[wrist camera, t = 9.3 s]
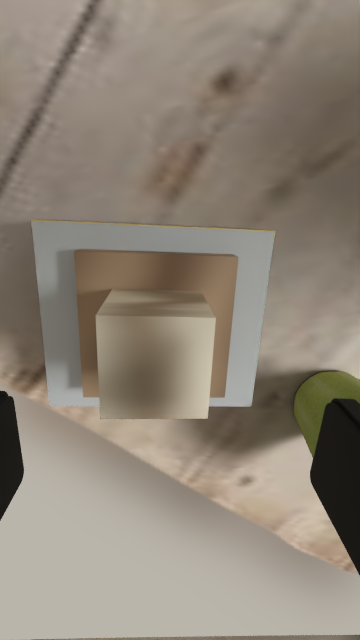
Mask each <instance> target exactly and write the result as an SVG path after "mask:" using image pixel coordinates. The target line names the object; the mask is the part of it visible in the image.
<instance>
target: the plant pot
mask: <svg viewBox="0 0 360 640" xmlns="http://www.w3.org/2000/svg"><path fill="white" fill-rule="evenodd" d="M334 398H346V399H355V400H356V401H357V402H358V403H359V404H360V380H359V379H357V378H355V377H354V376H352V375H350V374H348V373H346V372H343V371H336V372H321V373H318V374H316V375H314V376H312V377H310V378H309V379H307V380H306V381H305V382H304V383H303V384H302V385H301V386H300V388H299V389H298V391H297V393H296V395H295V401H294V411H293V412H294V415H295V418H296V420H297V422H298V425H299V427H300V429H301V431H302V434H303V436H304V438H305V440H306V443H307V445H308V447H309V450H310V452H311V454H312V457H313V458H314V454H315V449H316V445H317V440H318V436H319V432H320V427H321V423H322V419H323V414H324V410H325V406H326V404H327V403H331V401H332V399H334Z"/></svg>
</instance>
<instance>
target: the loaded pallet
mask: <svg viewBox="0 0 360 640" xmlns="http://www.w3.org/2000/svg"><path fill="white" fill-rule="evenodd" d="M238 258H239V257H238V256H236V255H234V254H213V253H185V252H157V251H128V250H100V249H78V250H76V251H74V260H75V276H76V292H77V308H78V324H79V340H80V356H81V372H82V387H83V397H99V405H100V419H208V410H209V398H225V390H226V380H227V370H228V359H229V349H230V339H231V329H232V319H233V309H234V299H235V288H236V278H237V268H238Z"/></svg>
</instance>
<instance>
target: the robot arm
mask: <svg viewBox="0 0 360 640" xmlns="http://www.w3.org/2000/svg"><path fill="white" fill-rule="evenodd" d="M23 474H24V467H23V460H22V453H21V447H20V440H19V433H18V426H17V419H16V412H15V405H14V400H13V398H12V397H11V396H8V394H7V393H6V392H5V391H0V520H1V518H2V516H3V515H4V513H5V511H6V509H7V507H8V505H9V504H10V502H11V500H12V498H13V496H14V494H15V493H16V491H17V489H18V487H19V485H20V483H21V481H22V478H23ZM310 478H311V483H312V485H313V487H314V489H315V491H316V493H317V495H318V497H319V499H320V501H321V503H322V505H323V506H324V508H325V510H326V512H327V514H328V516H329V518H330V520H331V522H332V524H333V525H334V527H335V529H336V531H337V533H338V535H339V537H340V539H341V541H342V543H343V544H344V546H345V548H346V550H347V552H348V554H349V556H350V558H351V560H352V561H353V563H354V565H355V567H356V569H357V571H358V573H359V575H360V404H359V403H358V402H357V401H356V400H355V399H346V398H334V399H332V401H331V403H327V404H326V406H325V410H324V414H323V419H322V423H321V427H320V432H319V436H318V440H317V445H316V449H315V454H314V458H313V462H312V467H311V471H310ZM34 640H360V635H295V636H294V635H292V636H291V635H289V636H213V637H212V636H209V637H208V636H207V637H143V638H142V637H138V638H85V639H83V638H81V639H34Z"/></svg>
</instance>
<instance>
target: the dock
mask: <svg viewBox="0 0 360 640" xmlns="http://www.w3.org/2000/svg"><path fill="white" fill-rule="evenodd" d="M31 229H32V234H33V244H34V254H35V265H36V275H37V285H38V295H39V306H40V316H41V326H42V336H43V347H44V357H45V367H46V378H47V388H48V398H49V406H100V405H99V397H83V387H82V372H81V356H80V340H79V324H78V308H77V292H76V276H75V260H74V251H76V250H78V249H100V250H128V251H157V252H185V253H213V254H234V255H236V256H238V257H239V258H238V268H237V278H236V288H235V299H234V309H233V319H232V329H231V339H230V349H229V359H228V370H227V380H226V390H225V398H209V406H230V407H251V406H252V399H253V391H254V384H255V376H256V369H257V362H258V354H259V347H260V339H261V332H262V324H263V317H264V310H265V302H266V295H267V287H268V280H269V273H270V265H271V258H272V250H273V245H274V239H275V232H276V231H272V230H257V229H238V228H217V227H195V226H173V225H152V224H130V223H108V222H87V221H65V220H31Z"/></svg>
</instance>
